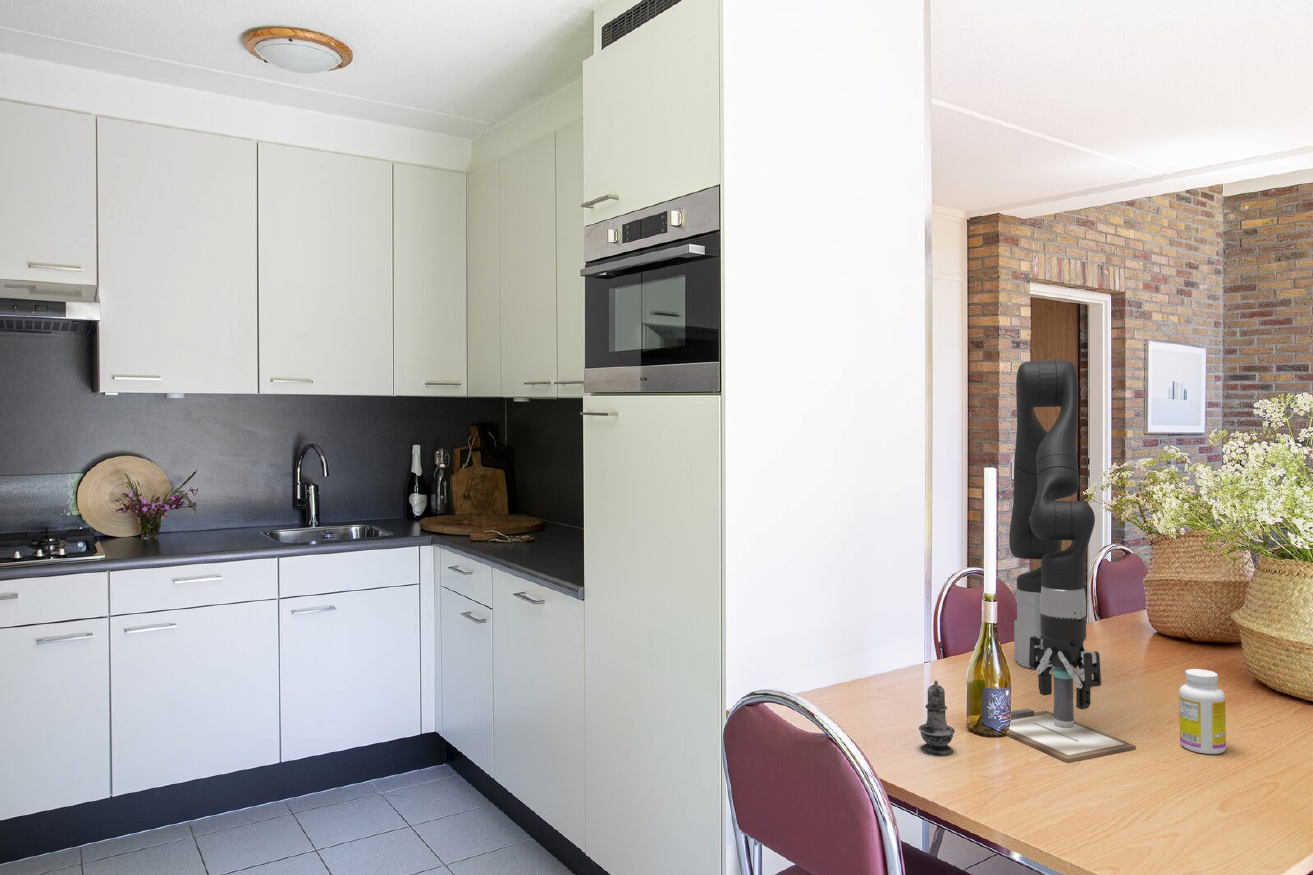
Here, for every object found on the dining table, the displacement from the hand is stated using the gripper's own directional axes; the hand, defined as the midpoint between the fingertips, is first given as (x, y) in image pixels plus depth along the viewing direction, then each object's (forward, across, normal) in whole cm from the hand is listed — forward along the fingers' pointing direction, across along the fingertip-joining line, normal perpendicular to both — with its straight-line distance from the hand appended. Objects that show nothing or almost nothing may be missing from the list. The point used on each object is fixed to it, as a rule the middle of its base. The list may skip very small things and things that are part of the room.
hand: (1063, 701), depth 160 cm
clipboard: (+5, +2, -4) cm, 7 cm away
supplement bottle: (+5, +16, +14) cm, 22 cm away
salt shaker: (+5, -1, -27) cm, 28 cm away
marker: (+4, 0, 0) cm, 4 cm away
